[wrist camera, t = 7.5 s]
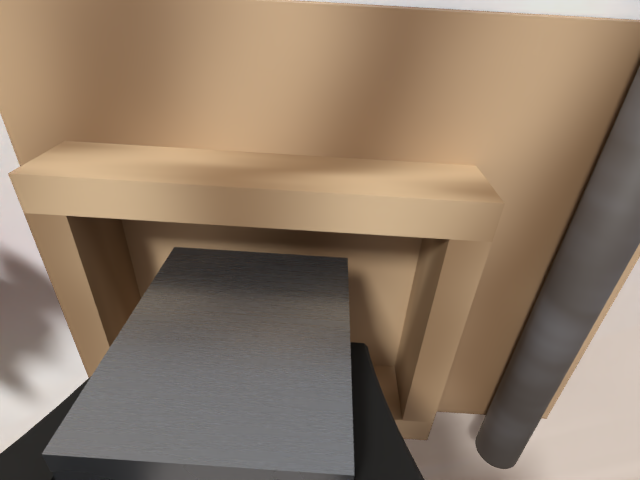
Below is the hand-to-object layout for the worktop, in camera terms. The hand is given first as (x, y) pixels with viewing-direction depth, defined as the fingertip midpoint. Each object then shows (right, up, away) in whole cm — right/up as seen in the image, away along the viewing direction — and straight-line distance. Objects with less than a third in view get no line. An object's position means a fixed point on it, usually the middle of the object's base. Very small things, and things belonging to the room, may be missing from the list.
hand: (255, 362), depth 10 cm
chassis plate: (+2, +3, +3) cm, 5 cm away
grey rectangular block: (0, +1, +1) cm, 2 cm away
